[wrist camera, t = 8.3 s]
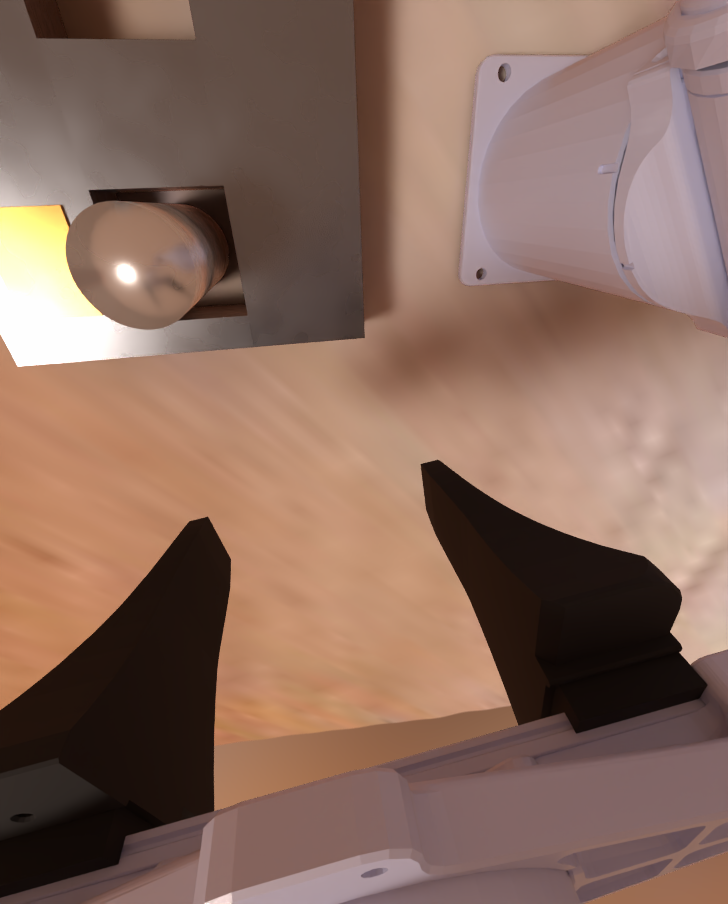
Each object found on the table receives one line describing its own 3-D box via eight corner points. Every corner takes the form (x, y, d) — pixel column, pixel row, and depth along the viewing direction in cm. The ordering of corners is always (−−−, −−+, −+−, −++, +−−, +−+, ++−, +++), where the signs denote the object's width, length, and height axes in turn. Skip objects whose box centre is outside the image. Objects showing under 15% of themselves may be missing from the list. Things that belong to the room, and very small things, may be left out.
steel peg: (215, 199, 16) (170, 192, 10) (238, 283, 18) (211, 320, 12) (134, 209, 16) (39, 210, 10) (166, 294, 17) (101, 337, 11)
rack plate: (333, -204, 11) (343, -302, 9) (356, 323, 19) (364, 338, 17) (-231, -252, 10) (-384, -388, 7) (50, 347, 18) (16, 367, 15)
